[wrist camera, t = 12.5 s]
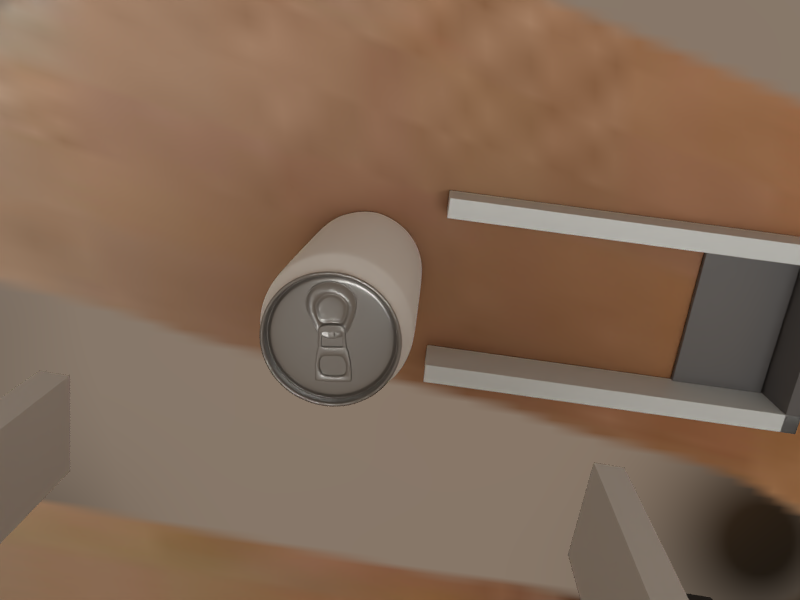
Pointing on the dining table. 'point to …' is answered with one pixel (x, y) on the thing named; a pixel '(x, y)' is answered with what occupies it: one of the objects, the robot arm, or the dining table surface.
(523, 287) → the dining table surface
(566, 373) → the grey flat u-shaped frame
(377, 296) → the can
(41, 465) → the robot arm
